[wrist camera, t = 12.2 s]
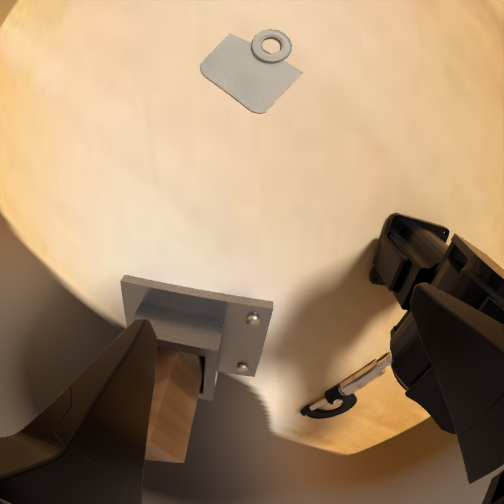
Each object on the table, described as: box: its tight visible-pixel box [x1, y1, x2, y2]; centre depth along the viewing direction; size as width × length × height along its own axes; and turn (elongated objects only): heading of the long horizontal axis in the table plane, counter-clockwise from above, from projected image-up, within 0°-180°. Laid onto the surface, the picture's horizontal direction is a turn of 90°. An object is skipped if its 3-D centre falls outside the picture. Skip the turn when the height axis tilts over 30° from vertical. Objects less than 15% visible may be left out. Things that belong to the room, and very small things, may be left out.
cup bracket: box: [121, 275, 273, 401], centre depth 24 cm, size 14×10×5 cm
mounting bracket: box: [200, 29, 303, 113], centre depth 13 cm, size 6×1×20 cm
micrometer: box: [300, 353, 392, 419], centre depth 30 cm, size 15×7×2 cm, turn 141°
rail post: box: [145, 347, 205, 463], centre depth 21 cm, size 4×4×12 cm
